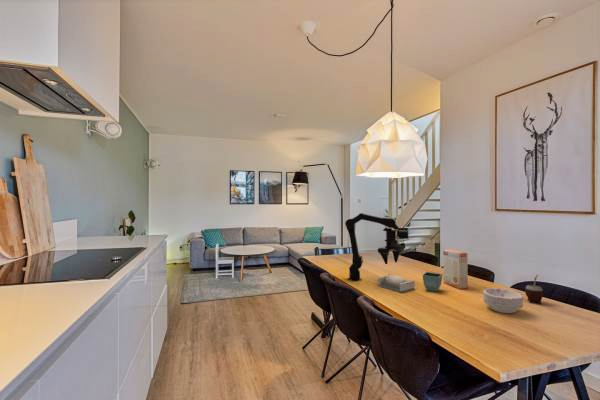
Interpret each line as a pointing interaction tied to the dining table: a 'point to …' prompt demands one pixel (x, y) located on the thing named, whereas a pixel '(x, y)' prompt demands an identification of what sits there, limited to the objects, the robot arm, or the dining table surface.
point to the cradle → (402, 288)
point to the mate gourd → (534, 293)
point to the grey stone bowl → (503, 300)
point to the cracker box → (455, 268)
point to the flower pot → (432, 281)
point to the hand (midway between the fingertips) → (391, 263)
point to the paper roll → (395, 279)
